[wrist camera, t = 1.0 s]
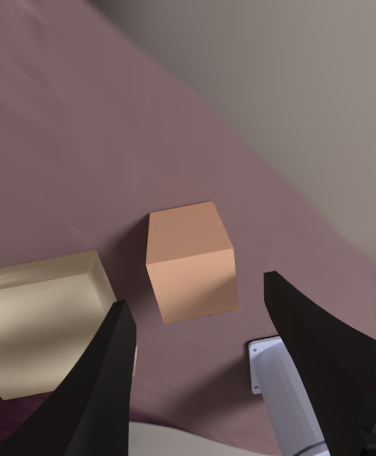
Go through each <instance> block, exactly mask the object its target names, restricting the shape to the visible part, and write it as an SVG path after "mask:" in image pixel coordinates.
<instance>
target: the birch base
mask: <svg viewBox="0 0 376 456" xmlns="http://www.w3.org/2000/svg"><path fill="white" fill-rule="evenodd" d="M116 301H117V299H116V297H115V294H114V292H113V290H112V287H111V285H110V282H109V280H108V278H107V275H106V273H105V271H104V268H103V266H102V264H101V261H100V259H99V257H98V254H97V252H96V250H93V251H88V252H83V253H78V254H73V255H67V256H62V257H57V258H52V259H46V260H41V261H36V262H31V263H25V264H20V265H15V266H10V267H5V268H0V397H1V398H2V399H3V400H7V399H12V398H17V397H23V396H28V395H33V394H38V393H44V392H49V391H54V390H55V389H56V388H57V387H58V385H59V384H60V383H61V382H62V381H63V379H64V378H65V377H66V376H67V374H68V373H69V372H70V370H71V369H72V368H73V366H74V365H75V364H76V362H77V361H78V360H79V358H80V357H81V355H82V354H83V352H84V351H85V349H86V348H87V346H88V345H89V343H90V342H91V340H92V339H93V337H94V335H95V334H96V332H97V330H98V329H99V327H100V325H101V324H102V322H103V320H104V318H105V317H106V315H107V313H108V311H109V309H110V308H111V306H112V304H113V303H114V302H116ZM136 356H137V346H136V352H135V360H134V368H133V375H132V376H134V375H135V367H136Z"/></svg>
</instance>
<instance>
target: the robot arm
mask: <svg viewBox="0 0 376 456" xmlns="http://www.w3.org/2000/svg"><path fill="white" fill-rule="evenodd" d="M264 302H265V305H266V307H267V310H268V313H269V315H270V318H271V320H272V322H273V324H274V326H275V328H276V330H277V332H278V334H279V336H278V337H272V338H267V339H262V340H257V341H252V342H250V343H249V345H248V347H249V361H250V374H251V387H252V392H253V393H254V394H259V393H262V396H263V399H264V402H265V405H266V408H267V411H268V415H269V418H270V421H271V424H272V427H273V430H274V433H275V436H276V439H277V442H278V445H279V448H280V450H281V453H282V455H283V456H376V340H375V339H373V338H371V337H369V336H367V335H365V334H363V333H362V332H360V331H358V330H356V329H354V328H352V327H351V326H349V325H347V324H345V323H344V322H342V321H341V320H339V319H337V318H336V317H334V316H333V315H331V314H330V313H328V312H327V311H325V310H324V309H322V308H321V307H320V306H318V305H317V304H315V303H314V302H313V301H311V300H310V299H309V298H308V297H306V296H305V295H304V294H302V293H301V292H300V291H299V290H297V289H296V288H295V287H294V286H293V285H291V284H290V283H289V282H288V281H287V280H286V279H285V278H283V277H282V276H281V275H280V274H279V273H278V272H276V271H272V272H266V273H264ZM135 352H136V324H135V322H134V319H133V317H132V314H131V312H130V309H129V307H128V304H127V302H126V300H122V301H116V302H114V303H113V304H112V306H111V308H110V309H109V311H108V313H107V315H106V317H105V318H104V320H103V322H102V324H101V325H100V327H99V329H98V330H97V332H96V334H95V335H94V337H93V339H92V340H91V342H90V343H89V345H88V346H87V348H86V349H85V351H84V352H83V354H82V355H81V357H80V358H79V360H78V361H77V362H76V364H75V365H74V366H73V368H72V369H71V370H70V372H69V373H68V374H67V376H66V377H65V378H64V379H63V381H62V382H61V383H60V384H59V385H58V387H57V388H56V389H55V390H54V391H53V392H52V393H51V395H50V396H49V397H48V398H47V399H46V400H45V401H44V402H43V404H42V405H41V406H40V407H39V408H38V409H37V410H36V411H35V412H34V413H33V414H32V415H31V416H30V417H29V418H28V419H27V420H26V421H25V422H24V423H23V424H22V425H21V426H20V427H19V428H18V429H17V430H16V431H15V432H13V433H12V434H11V435H10V436H9V437H8V438H7V439H6V440H5V441H4V442H3V443H2V444H1V445H0V456H128V435H129V433H128V432H129V402H130V391H131V383H132V375H133V368H134V360H135Z"/></svg>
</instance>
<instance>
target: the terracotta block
mask: <svg viewBox="0 0 376 456" xmlns="http://www.w3.org/2000/svg"><path fill="white" fill-rule="evenodd" d="M146 267H147V270H148V274H149V277H150V280H151V283H152V286H153V289H154V293H155V296H156V299H157V302H158V305H159V308H160V312H161V315H162V318H163V321H164V324H168V323H174V322H179V321H184V320H189V319H194V318H200V317H205V316H210V315H215V314H221V313H226V312H231V311H236V310H239V304H238V293H237V283H236V272H235V262H234V251H233V247H232V244H231V242H230V240H229V237H228V235H227V233H226V231H225V228H224V226H223V224H222V222H221V219H220V217H219V215H218V213H217V210H216V208H215V206H214V203H213V201H210V202H205V203H199V204H194V205H189V206H184V207H179V208H173V209H168V210H163V211H158V212H153V213H150V219H149V232H148V244H147V256H146Z"/></svg>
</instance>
